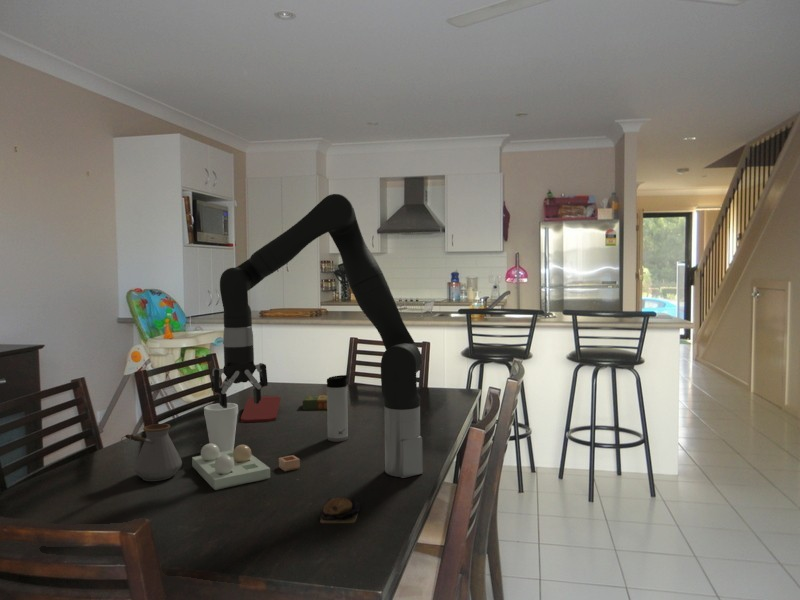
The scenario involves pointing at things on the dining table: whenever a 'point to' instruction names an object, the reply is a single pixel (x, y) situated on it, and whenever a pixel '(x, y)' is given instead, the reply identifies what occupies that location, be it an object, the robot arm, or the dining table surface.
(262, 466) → the egg tray
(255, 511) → the dining table surface
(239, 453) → the brown egg
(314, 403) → the carton
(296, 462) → the egg cup
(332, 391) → the travel mug
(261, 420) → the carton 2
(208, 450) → the white egg
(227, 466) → the white egg
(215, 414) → the foam cup
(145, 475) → the coffee pot
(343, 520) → the sandwich
